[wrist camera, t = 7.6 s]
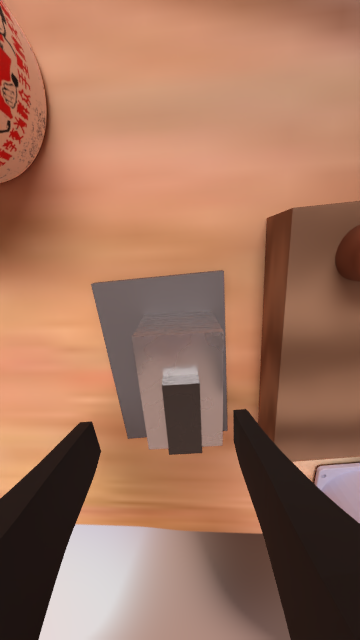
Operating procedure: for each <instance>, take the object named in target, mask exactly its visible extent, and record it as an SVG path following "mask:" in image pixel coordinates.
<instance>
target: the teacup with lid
mask: <svg viewBox="0 0 360 640" xmlns="http://www.w3.org/2000/svg"><path fill="white" fill-rule="evenodd" d="M46 116H47V108H46V96H45V89H44V85H43V80H42V76H41V73H40V69H39V66H38V63H37V60H36V58H35V55H34V53H33V50H32V48H31V46H30V44H29V42H28V40H27V38H26V36H25V34H24V32H23V31H22V29H21V27H20V26H19V24H18V22H17V21H16V19H15V18H14V16H13V15H12V13H11V12H10V10H9V9H8V8H7V6H6V5H5V3H4V2H3V0H0V183H2V182H6V181H9V180H11V179H13V178H15V177H17V176H19V175H20V174H22V173H23V172H24V171H25V170H26V169H27V168H28V167H29V166H30V165H31V164H32V162H33V161H34V159H35V158H36V156H37V154H38V152H39V150H40V147H41V145H42V142H43V138H44V134H45V128H46Z"/></svg>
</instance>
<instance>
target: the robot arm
mask: <svg viewBox="0 0 360 640" xmlns="http://www.w3.org/2000/svg"><path fill="white" fill-rule="evenodd" d="M234 444H235V448H236V452H237V456H238V460H239V464H240V467H241V470H242V473H243V476H244V479H245V482H246V485H247V488H248V491H249V494H250V497H251V500H252V502H253V505H254V508H255V511H256V514H257V517H258V520H259V523H260V526H261V529H262V532H263V536H264V539H265V542H266V546H267V550H268V554H269V557H270V561H271V564H272V569H273V572H274V576H275V580H276V584H277V587H278V591H279V595H280V599H281V603H282V607H283V610H284V614H285V618H286V622H287V626H288V630H289V634H290V638H291V640H360V463H350V464H337V465H324V466H319V467H318V468H317V472H316V478H315V483H313V482H312V481H311V480H309V479H308V478H307V477H306V476H305V475H304V474H303V473H302V472H301V471H300V470H299V469H298V468H297V467H296V466H295V465H294V464H293V463H292V462H291V461H290V460H289V459H288V457H287V456H286V455H285V454H284V453H283V452H282V451H281V450H280V449H279V448H278V447H277V445H276V444H275V443H274V442H273V441H272V440H271V439H270V438H269V436H268V435H267V434H266V433H265V432H264V431H263V429H262V428H261V427H260V426H259V425H258V423H257V422H256V421H255V420H254V418H253V417H252V416H251V414H250V413H249V412H248V411H247V410H246V409H243V410H234ZM100 453H101V450H100V446H99V443H98V440H97V436H96V433H95V430H94V427H93V423H92V422H80V423H79V424H78V425H77V426H76V427H75V428H74V429H73V430H72V431H71V432H70V433H69V434H68V435H67V436H66V437H65V438H64V439H63V440H62V441H61V442H60V443H59V444H58V445H57V446H56V447H55V448H54V449H53V450H52V451H51V452H50V453H49V454H48V455H47V456H46V457H45V458H44V459H43V460H42V461H41V462H40V463H39V464H38V465H37V466H36V467H35V468H33V469H32V470H31V471H30V472H29V473H28V474H27V475H26V476H25V477H24V478H23V479H22V480H21V481H20V482H18V483H17V484H16V485H15V486H14V487H13V488H12V489H11V490H10V491H9V492H7V493H6V494H5V495H4V496H3V497H2V498H1V499H0V640H38V639H39V635H40V632H41V628H42V625H43V621H44V618H45V615H46V611H47V608H48V605H49V601H50V598H51V595H52V591H53V588H54V585H55V581H56V578H57V575H58V572H59V569H60V566H61V562H62V559H63V556H64V553H65V550H66V547H67V544H68V542H69V539H70V536H71V534H72V531H73V528H74V526H75V523H76V521H77V518H78V516H79V513H80V511H81V508H82V506H83V503H84V501H85V498H86V495H87V493H88V490H89V488H90V485H91V483H92V480H93V477H94V475H95V471H96V468H97V464H98V460H99V457H100Z"/></svg>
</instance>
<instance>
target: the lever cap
mask: <svg viewBox="0 0 360 640" xmlns="http://www.w3.org/2000/svg"><path fill="white" fill-rule="evenodd" d="M132 342H133V348H134V355H135V361H136V368H137V375H138V381H139V388H140V394H141V401H142V407H143V414H144V420H145V427H146V433H147V440H148V446H149V449H167V448H169V455H172V454H191V453H202V447H204V446H222V444H223V348H224V331H223V330H222V328H221V326H220V324H219V323H218V321H217V319H216V318H215V316H214V314H213V312H212V311H195V312H179V313H163V314H146V315H144V316H143V318H142V320H141V321H140V323H139V325H138V327H137V329H136V330H135V332H134V334H133V336H132Z"/></svg>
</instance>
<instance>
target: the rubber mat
mask: <svg viewBox="0 0 360 640" xmlns="http://www.w3.org/2000/svg"><path fill="white" fill-rule="evenodd" d="M91 286H92V290H93V294H94V298H95V303H96V307H97V311H98V315H99V319H100V323H101V328H102V332H103V336H104V340H105V344H106V348H107V353H108V357H109V361H110V365H111V369H112V373H113V378H114V382H115V386H116V390H117V394H118V399H119V403H120V407H121V411H122V415H123V419H124V424H125V428H126V432H127V436H128V439H130V438H143V437H147V433H146V427H145V420H144V414H143V407H142V401H141V394H140V388H139V381H138V375H137V368H136V361H135V355H134V348H133V342H132V336H133V334H134V332H135V330H136V329H137V327H138V325H139V323H140V321H141V320H142V318H143V316H144V315H146V314H163V313H179V312H195V311H212V312H213V314H214V316H215V318H216V319H217V321H218V323H219V324H220V326H221V328H222V330H223V331H224V348H223V431H227V390H226V346H225V302H224V271H222V270H220V271H210V272H200V273H190V274H180V275H169V276H159V277H149V278H139V279H129V280H119V281H108V282H98V283H93V284H91Z"/></svg>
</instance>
